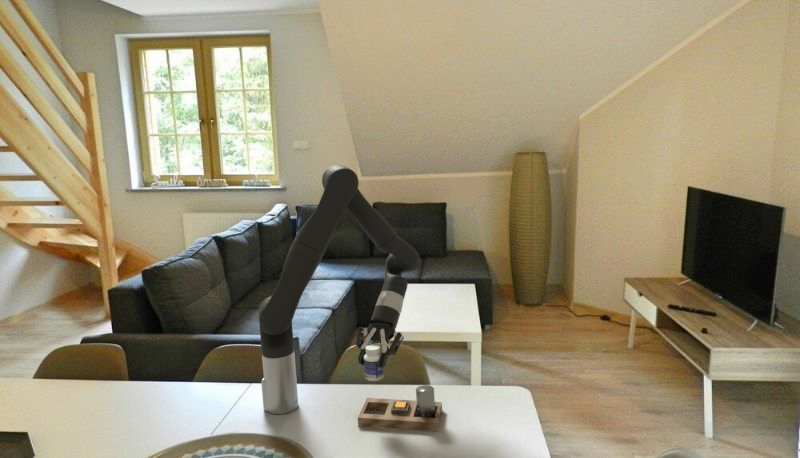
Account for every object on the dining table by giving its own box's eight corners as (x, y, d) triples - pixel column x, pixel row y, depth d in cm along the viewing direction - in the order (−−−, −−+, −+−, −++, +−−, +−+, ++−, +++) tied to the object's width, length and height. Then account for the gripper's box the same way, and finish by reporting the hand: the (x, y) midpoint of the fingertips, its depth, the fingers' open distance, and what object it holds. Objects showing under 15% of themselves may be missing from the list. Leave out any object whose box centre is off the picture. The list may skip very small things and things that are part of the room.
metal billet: (418, 425, 146) (416, 394, 145) (416, 415, 151) (415, 386, 150) (436, 423, 147) (435, 393, 145) (434, 413, 152) (432, 384, 150)
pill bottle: (381, 382, 146) (379, 351, 144) (362, 380, 147) (360, 350, 146) (385, 373, 151) (384, 343, 150) (367, 372, 152) (365, 342, 151)
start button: (394, 410, 149) (394, 406, 148) (396, 405, 151) (396, 401, 151) (404, 411, 148) (404, 407, 148) (406, 406, 151) (406, 402, 151)
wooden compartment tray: (358, 426, 147) (357, 413, 146) (367, 405, 158) (366, 394, 157) (438, 431, 143) (437, 418, 142) (442, 410, 154) (441, 398, 153)
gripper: (361, 301, 155) (342, 356, 147) (406, 306, 149) (389, 364, 141) (370, 312, 161) (353, 366, 153) (414, 318, 155) (398, 374, 147)
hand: (370, 365), depth 147 cm, fingers closed on pill bottle, 5 cm apart
